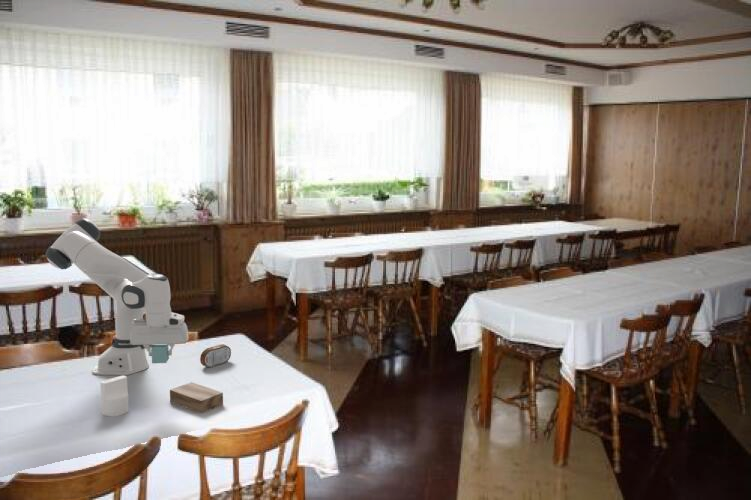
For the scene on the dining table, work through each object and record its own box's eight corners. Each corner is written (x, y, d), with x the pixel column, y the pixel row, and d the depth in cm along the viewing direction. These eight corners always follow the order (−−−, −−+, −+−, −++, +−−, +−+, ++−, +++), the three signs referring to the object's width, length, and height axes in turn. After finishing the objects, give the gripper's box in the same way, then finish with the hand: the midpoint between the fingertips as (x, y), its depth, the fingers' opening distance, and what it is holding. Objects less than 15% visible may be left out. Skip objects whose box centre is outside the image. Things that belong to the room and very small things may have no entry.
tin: (228, 359, 285) (227, 342, 283) (232, 361, 283) (232, 343, 282) (199, 368, 273) (199, 349, 272) (204, 370, 271) (203, 351, 270)
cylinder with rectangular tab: (120, 404, 234) (119, 373, 232) (133, 410, 228) (131, 378, 226) (97, 411, 227) (95, 379, 225) (109, 418, 221) (107, 385, 220)
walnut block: (201, 414, 226) (201, 400, 226) (170, 402, 237) (169, 389, 236) (223, 405, 235) (222, 392, 234) (191, 394, 245) (191, 382, 244)
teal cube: (152, 363, 228) (151, 347, 227) (155, 359, 233) (154, 343, 232) (166, 362, 229) (165, 347, 228) (168, 358, 234) (168, 342, 233)
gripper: (126, 321, 224) (128, 359, 226) (185, 320, 227) (187, 357, 229) (131, 317, 230) (133, 353, 232) (188, 315, 233) (190, 351, 235)
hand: (160, 355), depth 230 cm, fingers closed on teal cube, 5 cm apart
